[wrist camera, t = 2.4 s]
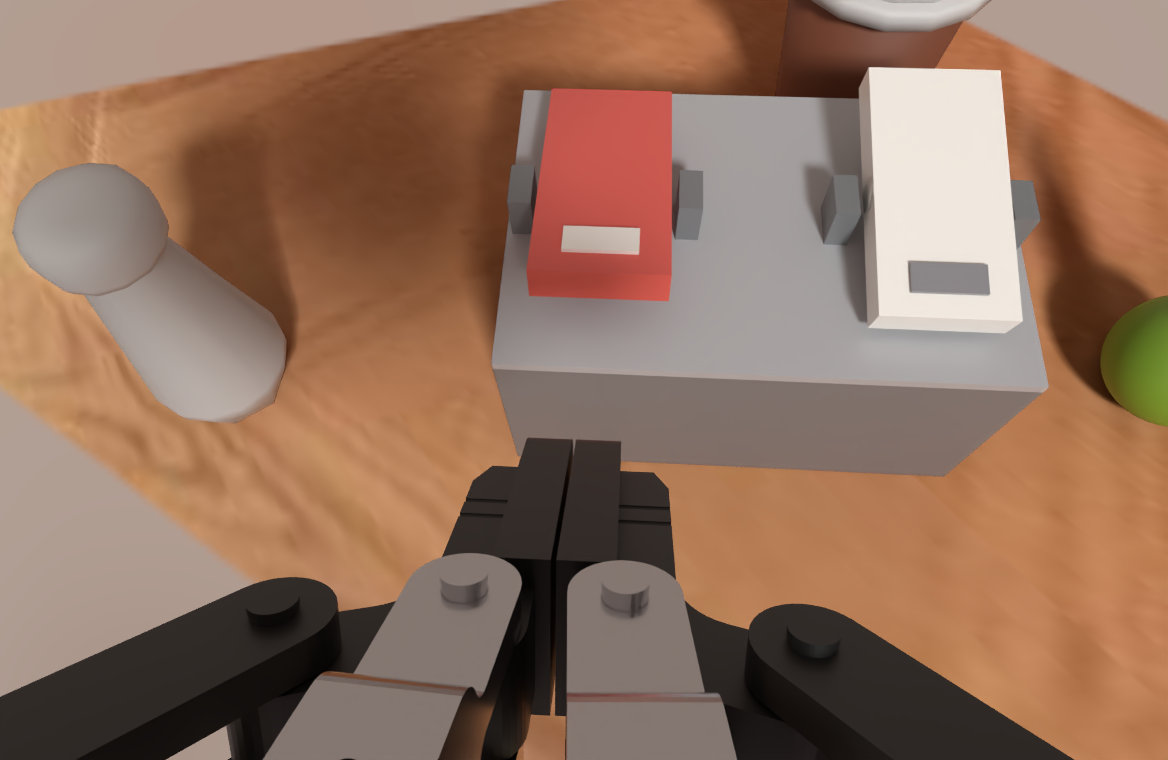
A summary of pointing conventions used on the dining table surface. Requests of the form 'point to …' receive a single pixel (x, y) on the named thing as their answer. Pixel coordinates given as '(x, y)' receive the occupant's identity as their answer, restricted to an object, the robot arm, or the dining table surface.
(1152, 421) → the snail figurine
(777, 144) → the switch box
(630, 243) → the red rocker
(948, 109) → the white rocker
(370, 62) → the dining table surface
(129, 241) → the salt shaker
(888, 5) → the coffee cup
